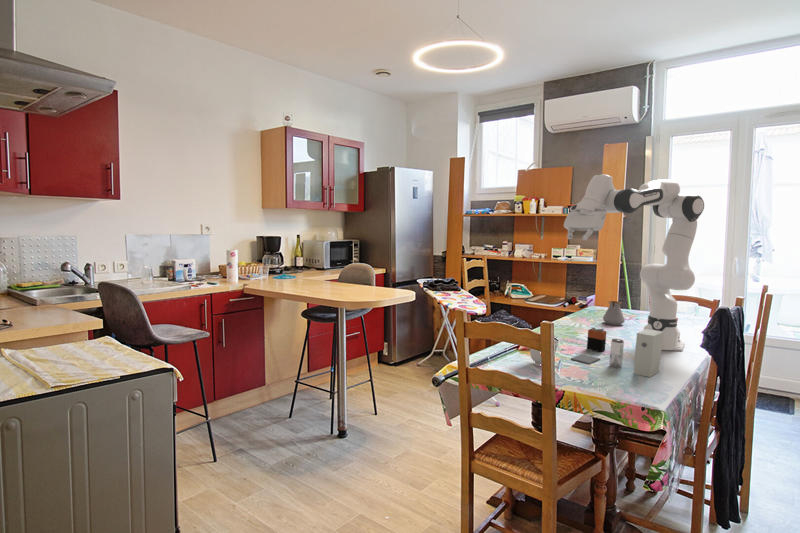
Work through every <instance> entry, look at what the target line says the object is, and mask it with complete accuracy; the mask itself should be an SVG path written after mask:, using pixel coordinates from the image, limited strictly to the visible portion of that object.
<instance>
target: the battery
mask: <svg viewBox="0 0 800 533" xmlns="http://www.w3.org/2000/svg"><path fill="white" fill-rule="evenodd" d="M586 340H587V342H586V343H587V344H586V350H590V351H595V352H599V353H602V352H604V351H606V340H607V331H606V330H604V328H597V329H596V327H591V328H590V329H588V330H587V339H586Z"/></svg>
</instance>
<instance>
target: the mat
mask: <svg viewBox="0 0 800 533" xmlns="http://www.w3.org/2000/svg"><path fill="white" fill-rule="evenodd" d="M570 360H571V361H574V362H579V363H583V364H585V365H592V364H594V363H596V362H598V361H601V357H596V356H592V355H587V354H583V353H581V354H579V355H576V356H573V357H571V358H570Z"/></svg>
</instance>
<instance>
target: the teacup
mask: <svg viewBox="0 0 800 533" xmlns="http://www.w3.org/2000/svg"><path fill="white" fill-rule="evenodd" d="M559 344H560V342H559V340H558V339H555V354H556V352H557V348H558V345H559ZM529 352H530V358H531V359H532V361H533V362H534V366H536V367H540V364H541V354H540V351H537V350H534V349H530V348H529Z"/></svg>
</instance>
